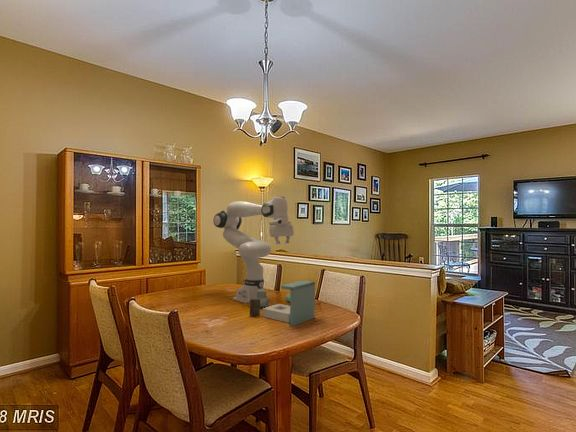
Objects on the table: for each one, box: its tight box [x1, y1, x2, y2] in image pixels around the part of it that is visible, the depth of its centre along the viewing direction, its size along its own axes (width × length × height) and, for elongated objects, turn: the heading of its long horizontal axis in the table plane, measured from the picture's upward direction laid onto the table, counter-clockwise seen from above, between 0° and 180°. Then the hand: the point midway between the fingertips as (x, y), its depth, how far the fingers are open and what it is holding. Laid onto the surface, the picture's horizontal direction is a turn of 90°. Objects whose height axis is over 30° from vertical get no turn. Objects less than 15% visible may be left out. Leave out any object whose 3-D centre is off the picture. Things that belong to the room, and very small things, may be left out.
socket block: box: [262, 303, 290, 324], centre depth 190 cm, size 18×14×4 cm
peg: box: [249, 298, 261, 318], centre depth 192 cm, size 4×4×9 cm
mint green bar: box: [285, 293, 290, 303], centre depth 218 cm, size 6×6×25 cm
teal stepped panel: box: [280, 280, 316, 327], centre depth 184 cm, size 8×20×20 cm, turn 143°
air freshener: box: [256, 289, 271, 309], centre depth 212 cm, size 11×8×10 cm
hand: (282, 243), depth 214 cm, fingers open, 8 cm apart
